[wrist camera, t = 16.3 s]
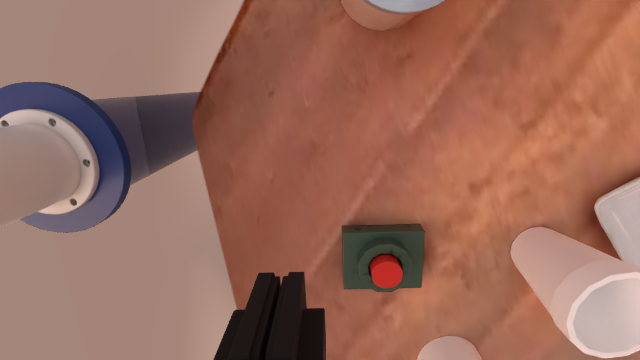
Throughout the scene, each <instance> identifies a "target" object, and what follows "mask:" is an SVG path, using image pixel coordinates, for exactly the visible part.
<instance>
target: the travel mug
mask: <svg viewBox="0 0 640 360" xmlns="http://www.w3.org/2000/svg"><path fill="white" fill-rule="evenodd" d="M444 1H445V0H340V2H341V4H342V6H343V8H344V9H345V11H346V12H347V14H348V15H349V16H350V17H351V18H352V19H353V20H354V21H355V22H357V23H358V24H360V25H362V26H364V27H366V28H369V29H372V30H381V31H384V30H391V29H395V28H397V27H400V26H402V25H404V24H405V23H407V22H408V21H410V20H411V19H412V18H414V17H415V16H416V15H418V14H419V13H420V12H424V11H427V10H429V9H431V8H434V7H435V6H437V5H439V4H441V3H442V2H444Z"/></svg>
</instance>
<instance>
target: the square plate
mask: <svg viewBox="0 0 640 360" xmlns="http://www.w3.org/2000/svg"><path fill="white" fill-rule="evenodd" d="M594 210H595V213H596V216H597V218H598V220H599V222H600V224H601V226H602V228H603V229H604V231H605V233H606V235H607V237H608V238H609V240H610V242H611V243H612V245H613V247H614V249H615V250H616V252H617V254H618V256H619V257H620V259H621V260H622V261H625V262H629V263H632V264H635V265H637V266H638V267H640V177H638V178H636V179H634V180H632V181H630V182H628V183H626V184H624V185H622V186H620V187H618V188H616V189H614V190H612V191H611V192H609V193H607V194H605V195H603V196H601V197H600V198H598V199H597V201H596V202H595V205H594Z"/></svg>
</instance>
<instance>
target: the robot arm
mask: <svg viewBox="0 0 640 360" xmlns="http://www.w3.org/2000/svg"><path fill="white" fill-rule="evenodd" d="M98 181H99V163H98V158H97V156H96V153H95V150H94V148H93V146H92V145H91V143H90V141H89V140H88V138H87V137H86V136H85V135H84V133H83V132H82V131H81V130H80V129H79V128H78V127H77V126H76V125H74V124H73V123H72V122H71V121H69V120H67V119H66V118H64V117H63V116H60V115H58V114H56V113H54V112H50V111H46V110H42V109H25V110H18V111H14V112H10V113H8V114H6V115H5V116H3V117H1V118H0V228H2V227H4V226H6V225H9V224H11V223H13V222H15V221H17V220H20V219H22V218H24V217H27V216H29V215H31V214H33V213H36V212H40V213H44V214H62V213H67V212H70V211H73V210H75V209H77V208H79V207H81V206H82V205H84V204H85V203H86V202H87V201H89V199H90V198H91V197H92V196H93V194H94V192H95V190H96V188H97V186H98ZM214 360H326V332H325V310H324V308H313V309H306V292H305V276H304V272H289V275H288V276H284V277H283V280H282V284H280V277H279V276H275V274H274V273H259V274H258V276H257V279H256V281H255V284H254V287H253V290H252V292H251V295H250V298H249V300H248V303H247V306H246V309H245V310H235V311H234V312H233V314H232V316H231V319H230V321H229V324H228V326H227V329H226V331H225V333H224V336H223V338H222V341H221V343H220V346H219V348H218V350H217V353H216V355H215V358H214Z"/></svg>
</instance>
